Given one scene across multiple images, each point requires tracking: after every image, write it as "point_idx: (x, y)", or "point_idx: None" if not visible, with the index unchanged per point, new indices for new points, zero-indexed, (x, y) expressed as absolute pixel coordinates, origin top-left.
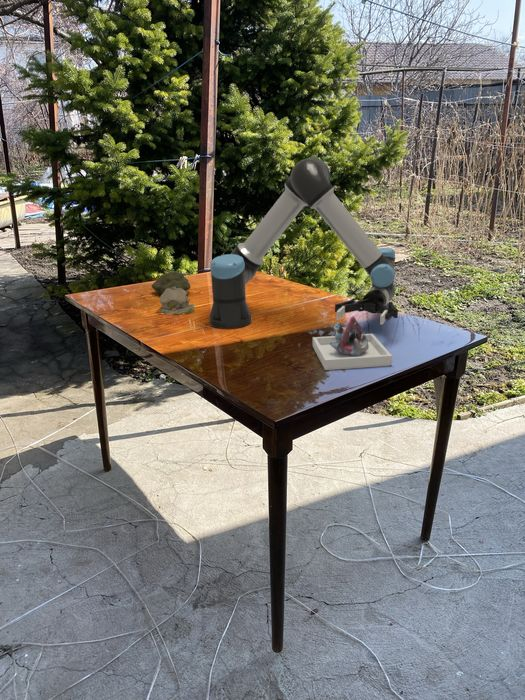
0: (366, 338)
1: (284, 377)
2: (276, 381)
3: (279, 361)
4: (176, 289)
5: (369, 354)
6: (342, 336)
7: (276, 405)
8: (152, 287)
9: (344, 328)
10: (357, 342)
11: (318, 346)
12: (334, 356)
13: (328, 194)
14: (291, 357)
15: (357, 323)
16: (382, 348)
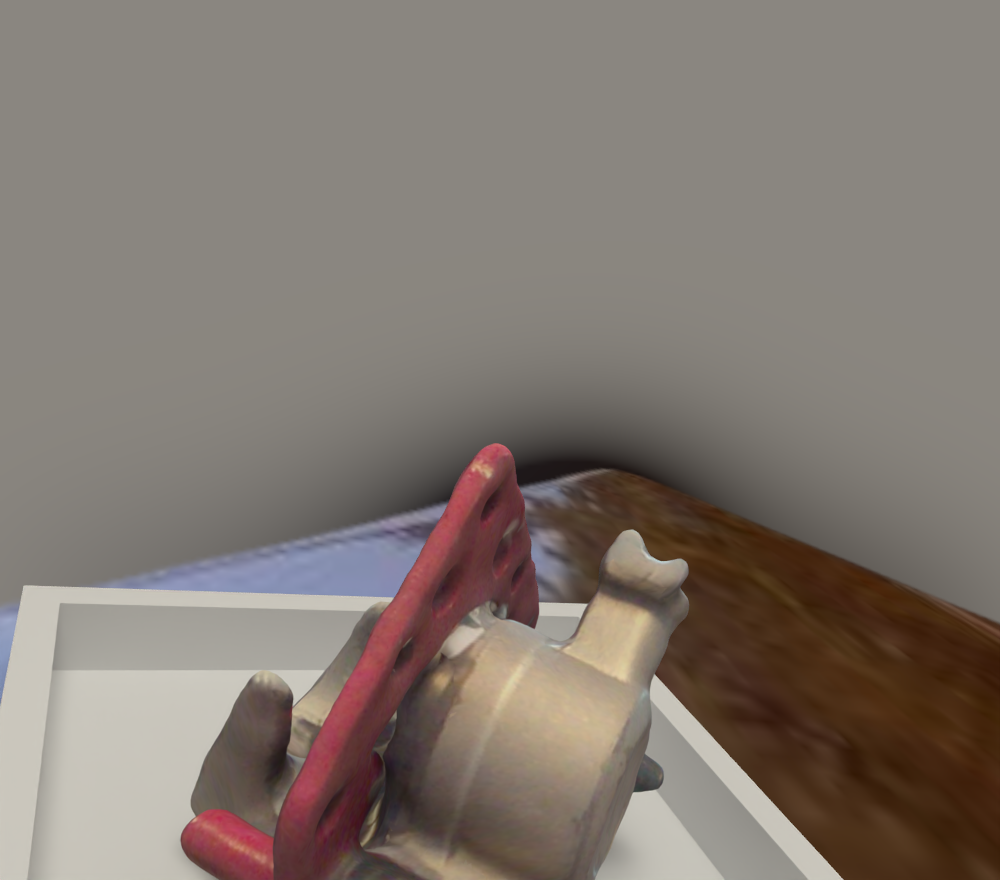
0: (239, 703)
1: (765, 639)
2: (776, 616)
3: (963, 808)
4: None
5: (181, 814)
6: (536, 584)
7: (660, 508)
8: None
9: (559, 651)
10: (364, 626)
11: (760, 798)
12: None
13: None
14: (939, 869)
15: (400, 597)
16: (43, 704)
